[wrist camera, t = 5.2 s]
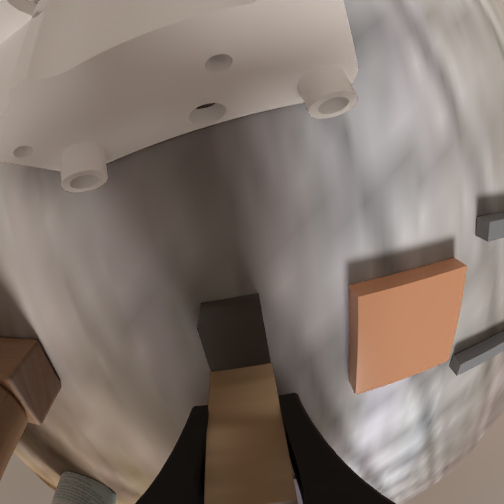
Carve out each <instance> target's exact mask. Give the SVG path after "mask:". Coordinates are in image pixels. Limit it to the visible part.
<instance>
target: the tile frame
mask: <svg viewBox="0 0 504 504" xmlns="http://www.w3.org/2000/svg"><path fill="white" fill-rule="evenodd" d="M476 236H478V237H480V238H482V239H484V240H486V241H488V242H489V241H492V240H496V239H500V238H503V237H504V212H500V213H494V214H489V215H484V216H478V217H477V225H476ZM502 351H504V330H503V331H502V332H500V333H498V334H496V335H494V336H492V337H490V338H488V339H486V340H485V341H483V342H481V343H479V344H476V345H474V346H472V347H470V348H468V349H466V350H464V351H462V352H459V353H457V354H455V355H453V357H452V360H451V363H450V366H449V367H450V368H451V369H452V370H453V372H454V373H455V374H456V375H459V374H461V373H463V372H465V371H467V370H469V369H471V368H473V367H475V366H477V365H479V364H481V363H483V362H485V361H486V360H488V359H490V358H492V357H494V356H495V355H497V354H499V353H500V352H502Z"/></svg>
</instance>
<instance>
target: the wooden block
mask: <svg viewBox="0 0 504 504" xmlns="http://www.w3.org/2000/svg"><path fill="white" fill-rule="evenodd" d="M60 389H61V382H60V381H59V379H58V377H57V375H56V374H55V372H54V370H53V368H52V367H51V365H50V363H49V361H48V359H47V357H46V355H45V353H44V351H43V349H42V347H41V345H40V343H39V342H38V341H37V340H35V339H18V338H4V337H0V480H1V478H2V476H3V473H4V471H5V469H6V467H7V464H8V462H9V460H10V458H11V456H12V454H13V452H14V450H15V448H16V446H17V443H18V442H19V440H20V438H21V436H22V434H23V432H24V430H25V428H26V426H27V422H29V423H33V424H37V425H40V424H42V423H43V421H44V419H45V417H46V415H47V413H48V411H49V409H50V407H51V405H52V403H53V402H54V400H55V398H56V396H57V394H58V392H59V391H60Z"/></svg>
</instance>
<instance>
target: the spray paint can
mask: <svg viewBox="0 0 504 504" xmlns="http://www.w3.org/2000/svg"><path fill="white" fill-rule="evenodd" d="M52 504H116V494H115V492H114V491H112V490H111V489H110V488H108V487H107V486H105V485H103V484H101V483H99V482H97V481H95V480H93V479H91V478H89V477H86V476H83V475H80V474H77V473H74V472H63V474H62V475H61V477H60V480H59V483H58V486H57V488H56V491H55V494H54V497H53V500H52Z"/></svg>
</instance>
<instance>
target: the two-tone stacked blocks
mask: <svg viewBox="0 0 504 504" xmlns="http://www.w3.org/2000/svg"><path fill="white" fill-rule="evenodd" d="M197 329H198V333H199V336H200V339H201V342H202V345H203V348H204V351H205V354H206V357H207V360H208V363H209V366H210V369H211V372H210V383H209V400H208V410H209V415H208V427H207V437H206V460H205V491H204V504H298V500H297V494H296V489H295V483H294V478H293V473H292V467H291V462H290V457H289V451H288V446H287V441H286V435H285V430H284V425H283V419H282V415H281V409H280V404H279V398H278V393H277V387H276V382H275V376H274V371H273V366H272V363H271V362H270V356H269V350H268V345H267V339H266V333H265V328H264V322H263V316H262V311H261V305H260V300H259V294H254V295H248V296H242V297H236V298H230V299H224V300H218V301H212V302H205V303H201V306H200V312H199V318H198V324H197Z"/></svg>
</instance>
